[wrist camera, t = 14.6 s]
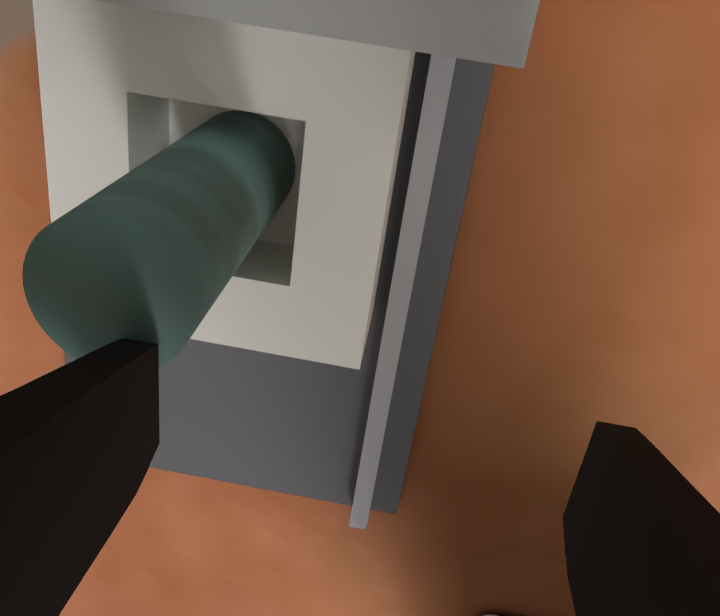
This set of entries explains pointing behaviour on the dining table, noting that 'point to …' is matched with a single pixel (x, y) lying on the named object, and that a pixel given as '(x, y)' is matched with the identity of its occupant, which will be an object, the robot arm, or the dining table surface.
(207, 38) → the sliding block
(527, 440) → the dining table surface
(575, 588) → the robot arm
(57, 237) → the dowel
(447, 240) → the base
